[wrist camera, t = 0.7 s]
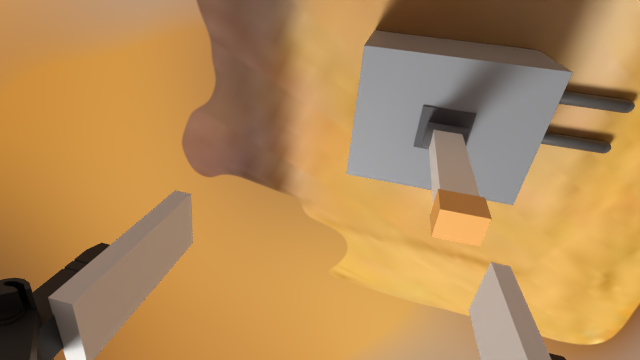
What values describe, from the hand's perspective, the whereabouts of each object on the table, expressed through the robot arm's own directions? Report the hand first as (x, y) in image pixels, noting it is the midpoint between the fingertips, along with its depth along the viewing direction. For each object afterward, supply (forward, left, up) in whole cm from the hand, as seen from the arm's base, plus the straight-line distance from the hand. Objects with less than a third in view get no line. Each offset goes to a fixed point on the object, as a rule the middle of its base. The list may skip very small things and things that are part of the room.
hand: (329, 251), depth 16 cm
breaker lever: (-5, +6, -23) cm, 24 cm away
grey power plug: (-10, +9, -33) cm, 36 cm away
